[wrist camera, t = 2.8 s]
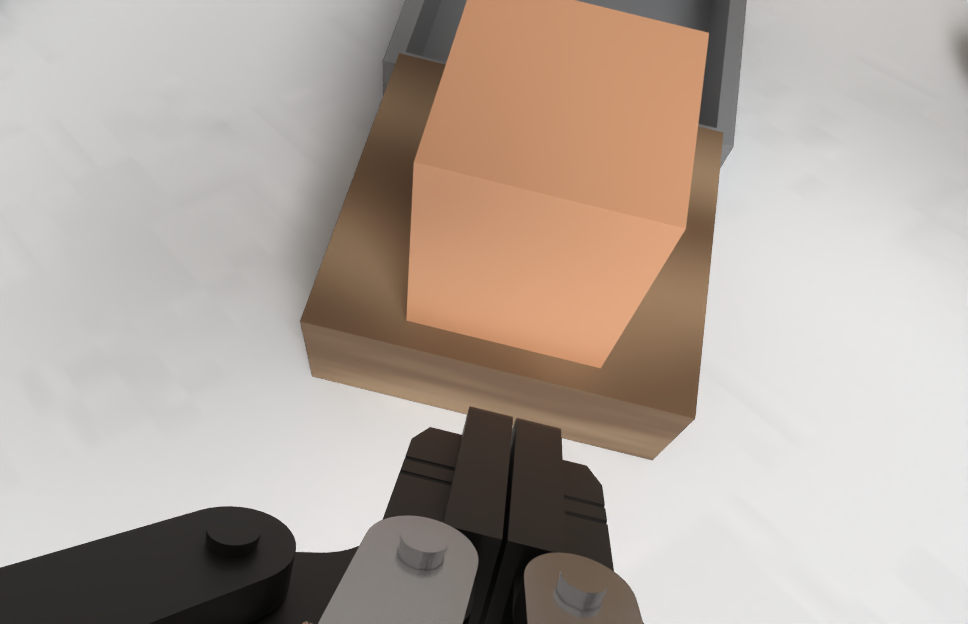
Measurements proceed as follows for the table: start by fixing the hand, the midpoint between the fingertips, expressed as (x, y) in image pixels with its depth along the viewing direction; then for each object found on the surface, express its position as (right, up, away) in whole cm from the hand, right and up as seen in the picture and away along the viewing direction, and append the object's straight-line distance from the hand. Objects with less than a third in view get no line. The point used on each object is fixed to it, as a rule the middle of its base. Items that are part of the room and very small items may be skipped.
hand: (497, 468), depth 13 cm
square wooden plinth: (+1, +4, +22) cm, 23 cm away
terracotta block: (+1, +4, +17) cm, 17 cm away
